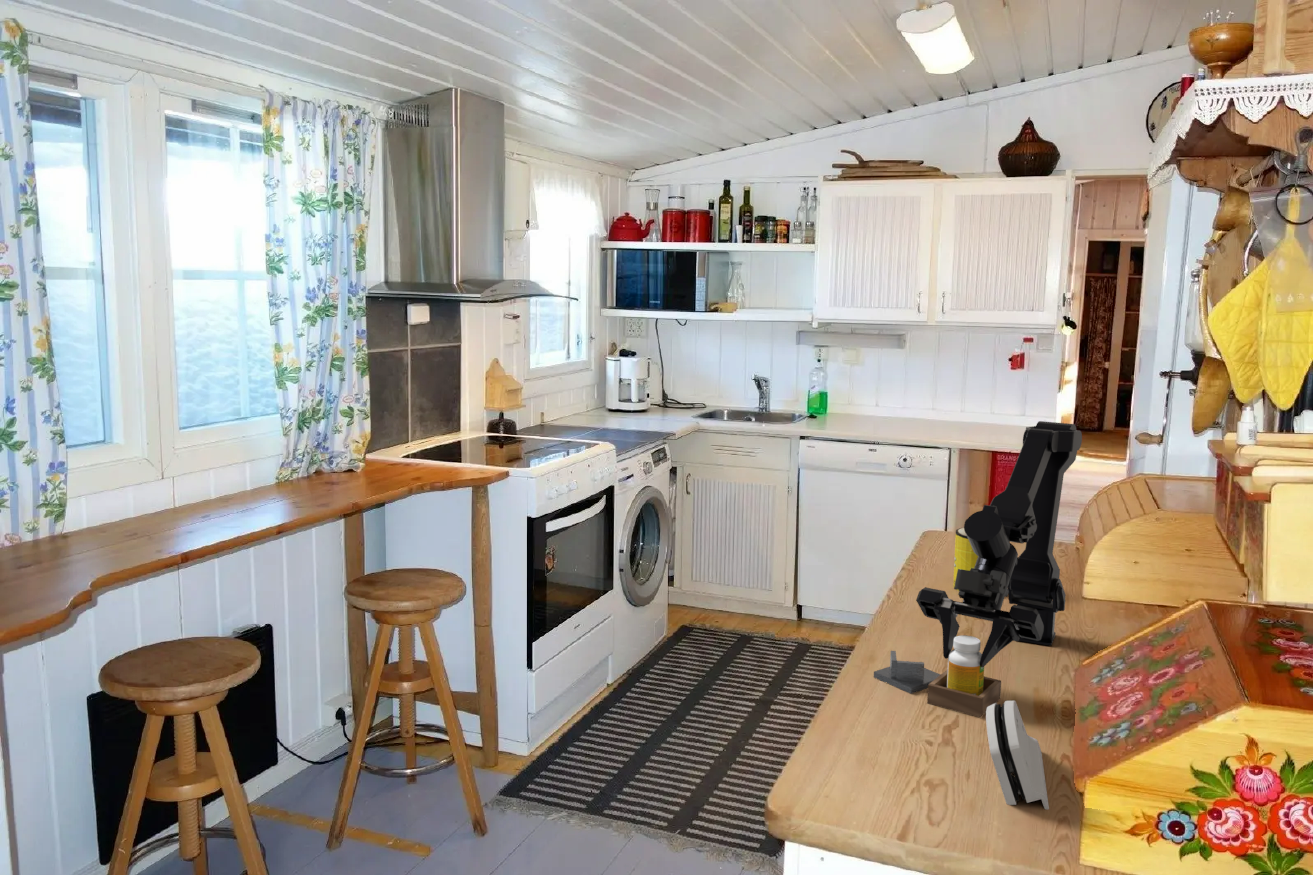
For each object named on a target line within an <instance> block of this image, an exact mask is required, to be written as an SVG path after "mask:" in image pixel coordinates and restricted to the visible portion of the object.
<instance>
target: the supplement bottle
mask: <svg viewBox="0 0 1313 875" xmlns="http://www.w3.org/2000/svg"><path fill="white" fill-rule="evenodd" d="M981 643H982V642H981V640H980V639H979V638H978V637H976V636H974V635H973V636H972V635H966V634H964V635H962V634H961V635H957V636H956V637H955V638H954V641H953V647H952V648H953V649H952V650H951V652H950V653H949V655H948V658H947V669H948V673H947V688H950V689H954V690H958V691H961V692H965V693H969V694H973V695H977V696H979V695H980V694H981V693H983V682H984V677H985V676H984V675H985V666H984V667H981V666H980V660H981V656H982V653H983V652H980V651H981Z"/></svg>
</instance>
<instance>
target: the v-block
mask: <svg viewBox="0 0 1313 875" xmlns="http://www.w3.org/2000/svg"><path fill="white" fill-rule="evenodd" d="M889 659H890V660H889V666H887V667H884V668H880V669H879V670H874V671H873V678H874V679H876V678H877V680H878V679H879V681H881V682H884V683H885V682H887V683H886V684H888V683H889V684H888V685H890V686H893V687H894V688H897V689H899V690H901V691H904V692H906V693H907V694H911V695H912V694H914V693H918V692H920V691H921V692H922V691H923V690H926V689H927V690H928V684H930V683H931V682H932V681H933V680H935V679H936V678H937V677H938V676H940V675H941V674H942V673H938V672H935V671H933V670H930V669H927V668H926V667H925V661H909V660H898V659H897V652H896V650H890V657H889Z"/></svg>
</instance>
